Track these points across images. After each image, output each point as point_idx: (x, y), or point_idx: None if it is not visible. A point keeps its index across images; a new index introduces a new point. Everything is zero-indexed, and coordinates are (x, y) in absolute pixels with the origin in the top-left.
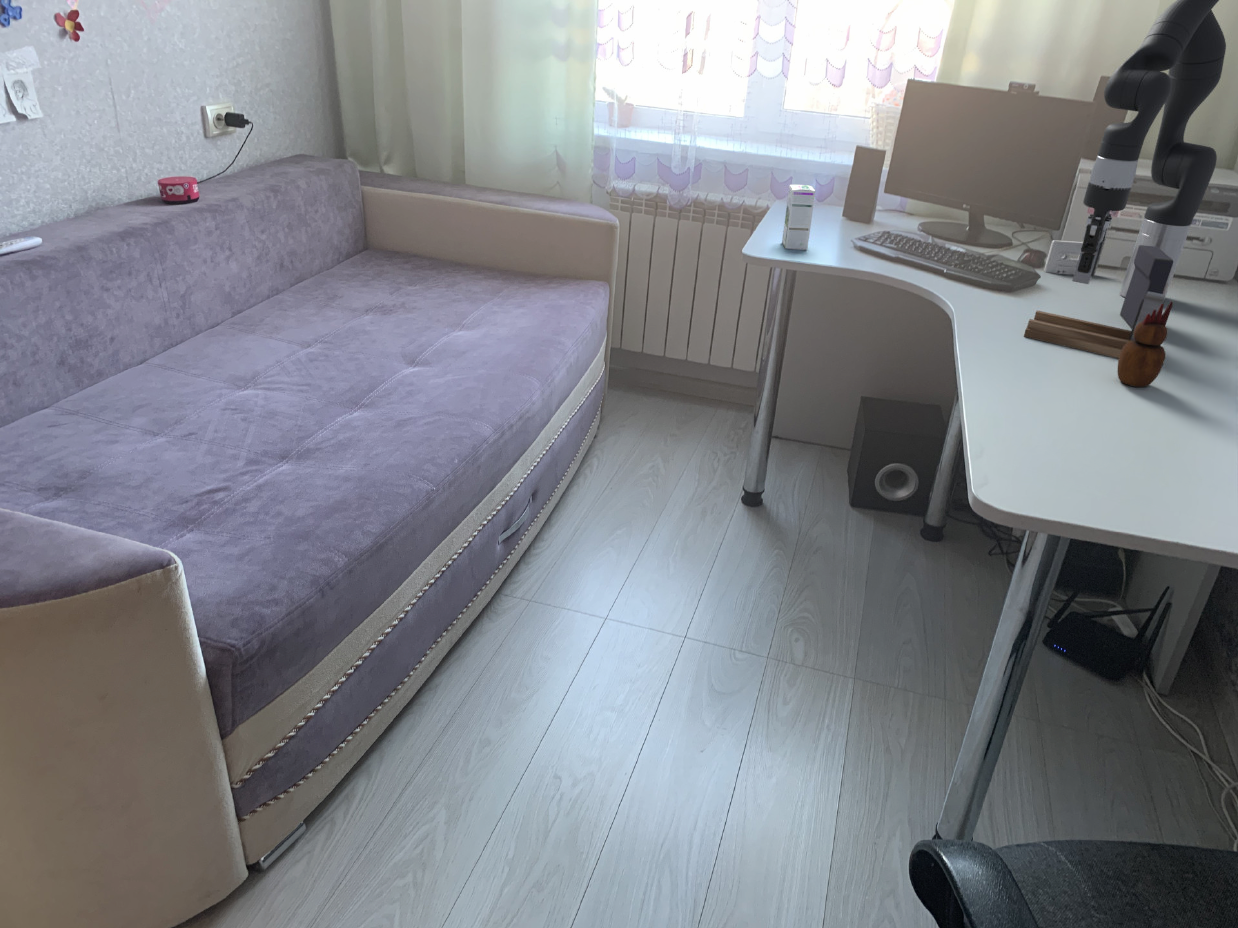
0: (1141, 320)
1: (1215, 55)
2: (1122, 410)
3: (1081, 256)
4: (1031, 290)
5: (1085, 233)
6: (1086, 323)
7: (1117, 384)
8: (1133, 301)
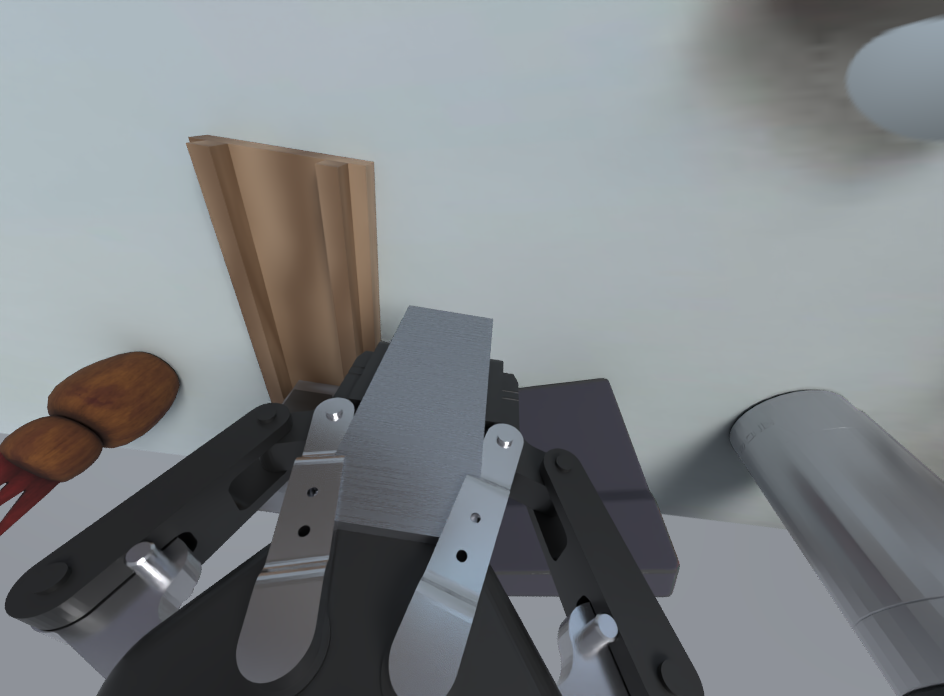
0: None
1: None
2: (8, 346)
3: (356, 386)
4: (831, 122)
5: (101, 518)
6: (336, 315)
7: (122, 346)
8: (548, 425)
